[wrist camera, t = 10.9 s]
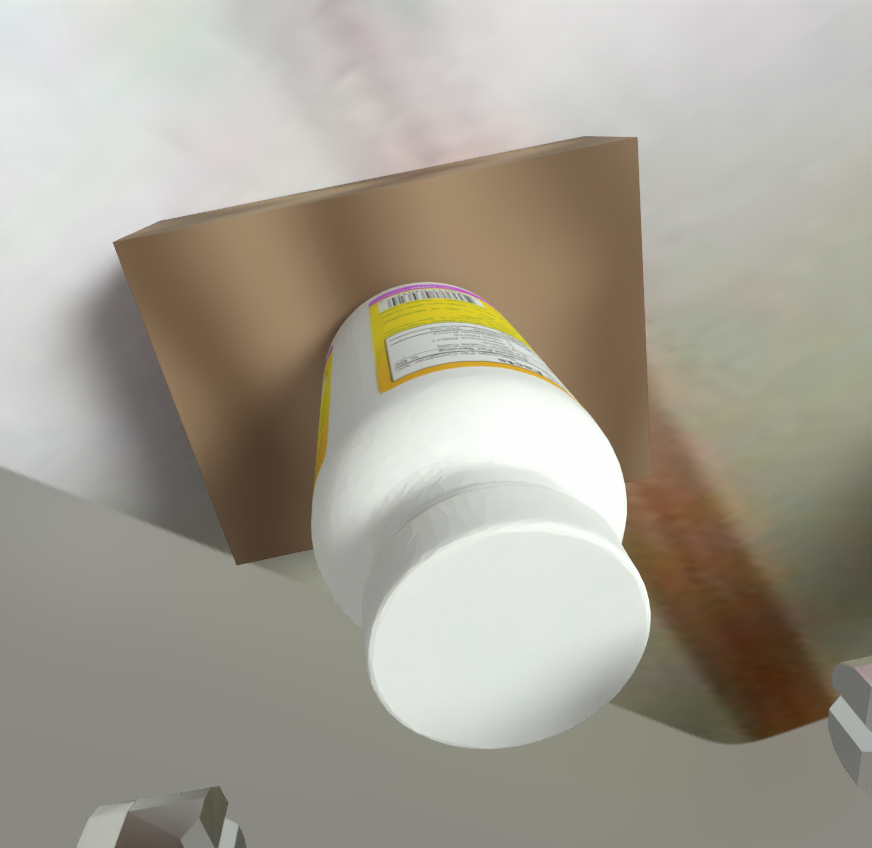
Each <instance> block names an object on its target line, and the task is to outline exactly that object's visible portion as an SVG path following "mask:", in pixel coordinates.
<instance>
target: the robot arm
mask: <svg viewBox="0 0 872 848" xmlns="http://www.w3.org/2000/svg"><path fill="white" fill-rule="evenodd" d="M832 685H833V687H834V688H835V689H836V690H837V691H838V693H839V694H840V695H841V696H840V697H839V698H838V699H837V701H836V702H835V703H834V704H833V705H832V706H831V708H830V709H829V722H828V729H829V732H830V736H831V739H832V742H833V746H834V749H835V751H836V753H837V755H838V757H839V759H840V761H841V763H842V765H843V767H844V768H845V769H846V771H847V772H848V773H849V775H850V777H851V778H852V779H853V781H854V782H855V784H856V785H857V786H858V787H860V788H861V789H863V790H865V791H867V792H868V793H870V794H872V656H868V657H863V658H858V659H854V660H849V661H844V662H840V663H839V664H838V665H837V666H836V668H835V669H834V670H833V678H832ZM227 806H228V801H227V799H226V798H225V796H224V794H223V792H222V790H221V788H220V787H219V786H218V787H210V788H204V789H198V790H192V791H186V792H180V793H174V794H168V795H162V796H156V797H150V798H144V799H138V800H133V801H128V802H122V803H116V804H111V805H106V806H100V807H99V808H98V809H97V810H96V811H95V812H94V814H93V815H92V816H91V817H90V818H89V820H88V821H87V823H86V826H85V828H84V830H83V833H82V835H81V837H80V840H79V842H78V844H77V846H76V848H246V843H245V839H244V836H243V833H242V831H241V829H240V827H239V825H238V824H236V823H234V822H232V821H231V820H229V819H227V818H225V815H226V811H227Z"/></svg>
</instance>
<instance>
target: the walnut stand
mask: <svg viewBox="0 0 872 848" xmlns="http://www.w3.org/2000/svg"><path fill="white" fill-rule="evenodd" d="M113 244H114V247H115V250H116V252H117V255H118V257H119V260H120V263H121V265H122V268H123V270H124V273H125V276H126V278H127V281H128V283H129V286H130V289H131V291H132V294H133V296H134V299H135V302H136V304H137V307H138V309H139V312H140V315H141V317H142V320H143V322H144V325H145V328H146V330H147V333H148V335H149V338H150V341H151V343H152V346H153V348H154V351H155V354H156V356H157V359H158V362H159V364H160V367H161V369H162V372H163V375H164V377H165V380H166V382H167V385H168V388H169V390H170V393H171V395H172V398H173V401H174V403H175V406H176V408H177V411H178V414H179V416H180V419H181V421H182V424H183V427H184V429H185V432H186V434H187V437H188V440H189V442H190V445H191V447H192V450H193V453H194V455H195V458H196V460H197V463H198V466H199V468H200V471H201V474H202V476H203V479H204V481H205V484H206V487H207V489H208V492H209V494H210V497H211V500H212V502H213V505H214V507H215V510H216V513H217V515H218V518H219V520H220V523H221V526H222V528H223V531H224V533H225V536H226V539H227V541H228V544H229V546H230V549H231V552H232V554H233V557H234V559H235V562H236V565H240V564H245V563H249V562H254V561H259V560H264V559H268V558H273V557H278V556H282V555H287V554H292V553H296V552H301V551H306V550H310V549H313V543H312V533H311V517H312V498H313V490H314V479H315V467H316V456H317V442H318V428H319V419H320V408H321V394H322V382H323V373H324V368H325V363H326V358H327V354H328V351H329V348H330V346H331V343H332V341H333V339H334V337H335V335H336V333H337V332H338V330H339V328H340V327H341V326H342V324H343V323H344V322H345V320H346V319H347V318H348V317H349V316H350V315H351V314H352V313H353V312H354V311H355V310H356V309H357V308H358V307H359V306H360V305H361V304H363V303H364V302H366V301H367V300H369V299H370V298H372V297H373V296H375V295H377V294H379V293H381V292H383V291H385V290H388V289H391V288H393V287H397V286H400V285H405V284H410V283H418V282H437V283H445V284H449V285H453V286H457V287H460V288H463V289H465V290H468V291H470V292H472V293H474V294H476V295H478V296H479V297H481V298H483V299H484V300H485V301H487V302H488V303H490V304H491V305H492V306H493V307H494V308H495V309H497V310H498V311H499V312H500V313H501V314H502V315H503V316H504V317H505V318H506V319H507V321H508V322H509V323H510V324H511V325H512V326H513V327H514V328H515V329H516V330H517V332H518V333H519V334H520V335H521V336H522V337H523V339H524V340H525V341H526V342H527V344H528V345H529V346H530V347H531V348H532V349H533V350H534V351H535V353H536V354H537V355H538V356H539V357H540V358H541V359H542V360H543V361H544V362H545V364H546V365H547V366H548V368H549V369H550V370H551V371H552V372H553V373H554V375H555V376H556V377H557V378H558V379H559V380H560V381H561V383H562V384H563V385H564V386H565V387H566V388H567V390H568V391H569V392H570V393H571V394H572V395H573V396H574V397H575V399H576V400H577V401H578V402H579V403H580V404H581V405H582V406H583V407H584V409H585V410H586V411H587V412H588V413H589V414H590V415H591V417H592V418H593V419H594V421H595V422H596V423H597V425H598V426H599V427H600V429H601V430H602V432H603V433H604V435H605V436H606V438H607V439H608V441H609V442H610V444H611V446H612V448H613V450H614V452H615V455H616V457H617V459H618V461H619V464H620V467H621V471H622V474H623V478H624V483H625V482H630V481H634V480H639V479H644V478H648V477H651V456H650V432H649V407H648V383H647V359H646V334H645V310H644V286H643V261H642V237H641V213H640V188H639V164H638V140H637V137H596V136H584V137H579V138H574V139H569V140H564V141H559V142H554V143H549V144H544V145H539V146H534V147H529V148H524V149H519V150H514V151H509V152H504V153H499V154H494V155H489V156H484V157H479V158H474V159H469V160H464V161H459V162H454V163H449V164H444V165H439V166H434V167H429V168H424V169H419V170H414V171H409V172H404V173H399V174H394V175H389V176H383V177H378V178H373V179H368V180H363V181H358V182H353V183H348V184H343V185H338V186H333V187H328V188H323V189H318V190H313V191H308V192H303V193H298V194H293V195H288V196H283V197H278V198H273V199H268V200H263V201H258V202H253V203H248V204H243V205H238V206H233V207H228V208H223V209H218V210H213V211H208V212H203V213H198V214H193V215H188V216H183V217H178V218H173V219H168V220H163V221H159V222H157V223H155V224H152V225H150V226H148V227H146V228H143V229H141V230H139V231H137V232H135V233H132V234H130V235H128V236H126V237H123V238H121V239H119V240H117V241H115V242H113Z"/></svg>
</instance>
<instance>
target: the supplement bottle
mask: <svg viewBox="0 0 872 848" xmlns="http://www.w3.org/2000/svg"><path fill="white" fill-rule="evenodd" d="M626 517H627V499H626V490H625V483H624V478H623V474H622V471H621V467H620V464H619V461H618V459H617V457H616V455H615V452H614V450H613V448H612V446H611V444H610V442H609V441H608V439H607V438H606V436H605V435H604V433H603V432H602V430H601V429H600V427H599V426H598V425H597V423H596V422H595V421H594V419H593V418H592V417H591V415H590V414H589V413H588V412H587V411H586V410H585V409H584V407H583V406H582V405H581V404H580V403H579V402H578V401H577V400H576V399H575V397H574V396H573V395H572V394H571V393H570V392H569V391H568V390H567V388H566V387H565V386H564V385H563V384H562V383H561V381H560V380H559V379H558V378H557V377H556V376H555V375H554V373H553V372H552V371H551V370H550V369H549V368H548V366H547V365H546V364H545V362H544V361H543V360H542V359H541V358H540V357H539V356H538V355H537V354H536V353H535V351H534V350H533V349H532V348H531V347H530V346H529V345H528V344H527V342H526V341H525V340H524V339H523V337H522V336H521V335H520V334H519V333H518V332H517V330H516V329H515V328H514V327H513V326H512V325H511V324H510V323H509V322H508V321H507V319H506V318H505V317H504V316H503V315H502V314H501V313H500V312H499V311H498V310H497V309H495V308H494V307H493V306H492V305H491V304H490V303H488V302H487V301H485V300H484V299H483V298H481V297H479V296H478V295H476V294H474V293H472V292H470V291H468V290H465V289H463V288H460V287H457V286H453V285H449V284H445V283H437V282H418V283H410V284H405V285H400V286H397V287H393V288H391V289H388V290H385V291H383V292H381V293H379V294H377V295H375V296H373V297H372V298H370V299H369V300H367V301H366V302H364V303H363V304H361V305H360V306H359V307H358V308H357V309H356V310H355V311H354V312H353V313H352V314H351V315H350V316H349V317H348V318H347V319H346V320H345V322H344V323H343V324H342V326H341V327H340V328H339V330H338V332H337V333H336V335H335V337H334V339H333V341H332V343H331V346H330V348H329V351H328V354H327V358H326V363H325V368H324V373H323V382H322V394H321V408H320V419H319V428H318V442H317V456H316V467H315V479H314V490H313V498H312V517H311V533H312V543H313V549H314V554H315V558H316V562H317V565H318V568H319V571H320V573H321V576H322V578H323V580H324V582H325V584H326V586H327V588H328V590H329V592H330V593H331V595H332V596H333V598H334V599H335V601H336V602H337V604H338V605H339V606H340V607H341V609H342V610H343V611H344V612H345V613H346V614H347V615H348V617H349V618H350V619H352V620H353V621H354V622H355V623H356V624H357V625H359V626H360V627H361V628H362V629H363V637H364V649H365V661H366V667H367V671H368V676H369V678H370V681H371V684H372V687H373V689H374V691H375V693H376V695H377V697H378V698H379V700H380V701H381V702H382V704H383V705H384V706H385V707H386V709H387V710H388V711H389V713H390V714H391V715H392V716H394V717H395V718H396V719H397V720H398V721H399V722H400V723H402V724H403V725H405V726H406V727H407V728H409V729H411V730H413V731H414V732H416V733H418V734H420V735H422V736H424V737H426V738H429V739H432V740H435V741H438V742H441V743H445V744H449V745H454V746H458V747H463V748H474V749H475V748H476V749H497V748H509V747H516V746H522V745H525V744H529V743H533V742H536V741H540V740H544V739H547V738H549V737H552V736H555V735H557V734H559V733H562V732H564V731H566V730H568V729H570V728H572V727H574V726H576V725H578V724H580V723H582V722H583V721H584V720H586V719H588V718H589V717H591V716H592V715H594V714H595V713H596V712H597V711H599V710H600V709H601V708H603V707H604V706H605V705H606V704H607V703H608V702H610V701H611V700H612V699H613V698H614V697H615V696H616V695H617V694H618V693H619V692H620V690H621V689H622V688H623V686H624V685H625V684H626V682H627V681H628V679H629V678H630V677H631V676H632V674H633V672H634V671H635V669H636V667H637V665H638V663H639V661H640V659H641V657H642V655H643V653H644V650H645V647H646V644H647V640H648V637H649V631H650V606H649V599H648V595H647V591H646V587H645V585H644V583H643V581H642V579H641V577H640V574H639V572H638V570H637V569H636V567H635V566H634V564H633V563H632V561H631V560H630V558H629V556H628V555H627V553H626V551H625V550H624V548H623V546H622V544H621V543H622V539H623V534H624V529H625V523H626Z"/></svg>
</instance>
